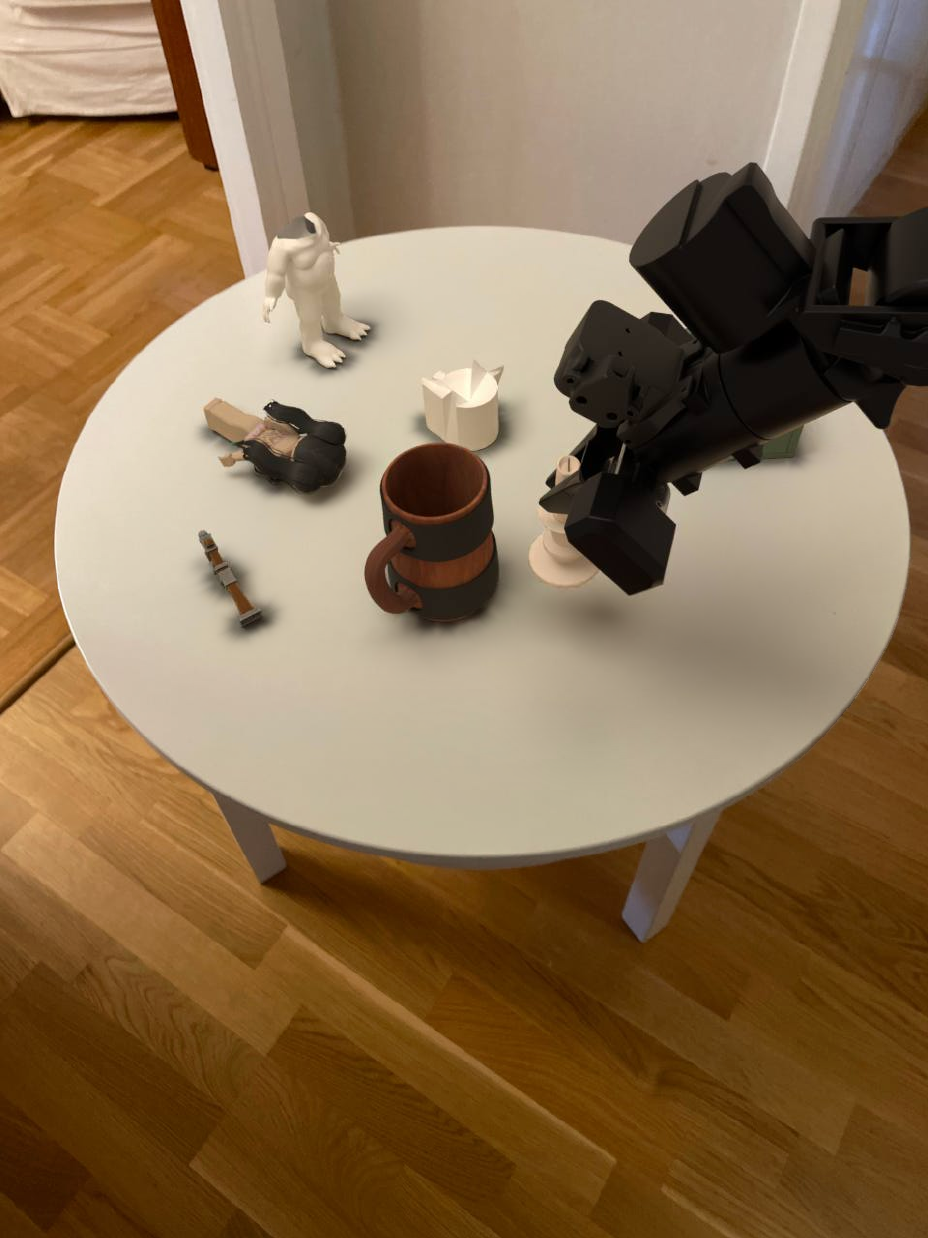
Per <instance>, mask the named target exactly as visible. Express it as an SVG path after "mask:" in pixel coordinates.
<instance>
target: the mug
mask: <svg viewBox="0 0 928 1238" xmlns="http://www.w3.org/2000/svg"><path fill="white" fill-rule="evenodd" d="M491 478H492V477H491V474H490V470H489V467H488V466H487V464H486V463H485V462H484V461H483V460H482V459H481V458H480V457H479V456H478V455H477V454H475V453H474V451H470V450H468V449H466V448H464V447H462V446H459V445H455V444H450V443H446V442H429V443H428V442H427V443H423V444H420V445H416V446H413V447H411V448H409V449H406V450H404V451H403V452H401V453H400V454H399V455H397V456H396V457H394V459H393V460H391V462H390V463H389V465H388V466H387V467H386V469H385V471H384V472H383V474H382V477H381V479H380V483H379V496H380V503H381V511H382V521H383V522H382V523H383V531H384V533H385V536H384V537H383V538H382V539H381V540H379V542H378V543H377V544H376V545H374V547H372V549H371V550H370V552H369V554H368V556H367V558H366V560H365V564H364V569H363V570H364V572H363V575H364V582H365V586H366V589H367V591H368V594H369V596H370V597H371V599H372V600H373V602H374V603H375V604H376V606H378V607H379V608H380V609H381V610H382V611H384V612H385V613H388V614H391V615H400V614H403V613H405V612H407V611H408V612H409V613H412V614H414V615H416V616H417V617H420V618H422V619H424V620H428V621H429V620H430V621H434V622H452V621H456V620H460V619H463V618H466V617H468V616H470V615H472V614H474V613H475V612H476V611H479V610H480V609H482V607H484V606H485V605H486V604H487V603H488V602H489V601H490V600H491V598H492V597H493V595H494V594H495V592H496V589H497V587H498V583H499V580H500V579H499V578H500V577H499V576H500V566H499V565H500V564H499V563H500V562H499V553H498V547H497V546H498V545H497V540H496V536H495V533H494V531H493V528H494V527H493V526H494V524H495V512H494V505H493V495H492V479H491ZM386 568H387V574H388V580H387V575H386ZM388 581H389V582H388Z"/></svg>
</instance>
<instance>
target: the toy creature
mask: <svg viewBox="0 0 928 1238" xmlns="http://www.w3.org/2000/svg"><path fill="white" fill-rule="evenodd" d="M330 239H331V238H330V233H329V231H328V228H327V225H326V223H324V221H323V220H322V219H321V218H320V217H319V216H318V215H317V214H316V213H314V212H311V211H310V212H306V213H304V214H302V215H298V216H297V217H295V218H293V219H292V220H290V221H289V222H288V223H286V224H285V225H284V226H283V227H282V228H281V229H280V231H279V232H278V233H277V235H275V237H274V238H273V240H272V242H271V245H270V249H269V250H268V254H267V261H266V263H267V265H266V278H265V282H264V291H265V298H264V300H263V301H262V302H263V303H262V308H263V309H262V320H263V321H264V322H265V323H268V324H271V320H270V317H269V314H270V312H273V311H274V310H275V308H276V306H277V302H278V300H279V299H280V298H281V296H282V295H283V292H284V291H285V293H286V295H287V297H288V298H289V299H290V300H292V303H293V306H294V309H295V312H296V315H297V317H298V320H299V323H298V327H299V331H300V336H301V345H302V346H301V347H302V348H301V349H302V351H303V352H304V354H305V355H307V356H309V357H312V358H314V359H315V360H317V362H318V363H319V364H320V365H321V366H323V367H325V368H327V369H330V368H336V367H337V365H336V363H343V359H342V358H346V355H345V353H344V352H343V350H341V349H338V348H337V347H336V346H334V344H332V343H330V342H328V341H326V340H324V338H323V331H324V332H325V333H327V334H331V335H332V334H338V335H341V336H343V337H347V338H349V339H351V340H353V341H355V340H359V341H362V338H361V337H362V336H368V333H367V332H366V331H367V330H371V327H370V326H369V324H365V323H364V322H360V321H356V320H354V319H352V318H351V317H349V316H347V315H345V314H344V313H343V312H342V308H341V307H342V305H341V299H342V294H341V291H340V287H339V284H338V281H337V278H336V274H335V265H336V262H335V261H336V260H335V253H334V251H335V252H336V254H338V255H340V254H341V252H340V249H339V248H338V247H337V246H341V242H339V241H336V242H333V241H331V240H330Z"/></svg>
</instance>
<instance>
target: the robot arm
mask: <svg viewBox="0 0 928 1238" xmlns="http://www.w3.org/2000/svg"><path fill="white" fill-rule="evenodd" d="M628 262H629V265H630V266H631V268H633V269H634V270H635V271H636V273H637V274H638V275H639V276H640V277H641V278H642V279H643V280H644V282H645V283H646V284H647V285H648V286H649V287H650V288H651V290H652V291H653V292H654V293H655V294H656V295H657V296H658V298H659V299H660V300H661V301H662V302H663V303H664V304H665V306H666V307H667V308H669V310H670V311H671V312H672V313H673V314H672V313H665V312H658V311H649V312H648V313H646V314H645V315H643V316H641V318H639V317H637V316H635V315H634V314H631V313H629V312H628V311H626V310H624V309H622V308H620V307H619V306H617V305H615V304H613V303H612V302H610V301H607V300H604V299H598V300H594V301H592V302H591V304H590V305H589V307H588V308H587V310H586V312H585V314H584V315H583V317H582V318H581V319H580V321H579V323H578V325H577V326H576V328H575V329H574V330H573V332H572V333H571V335H570V336H569V338H568V340H567V341H566V343H565V346H564V350H563V352H562V355H561V358H560V360H559V363H558V366H557V368H556V369H555V371H554V375H553V384H554V386H555V389H557V390H558V391H559V393H560V394H562V395H563V396H565V397H566V398H568V404H569V408H570V410H571V411H572V412H574V413H576V414H577V415H579V416H581V417H583V418H585V419H586V420H588V421H590V422H593V424H595V425H594V426H593V427H592V428H591V430H590V431H589V432H588V433H587V434H586V435H585V436H584V437H583V439H582V440H581V441H580V442H579V443H578V444H577V445H576V446H575V447H574V448H573V449H572V450H571V452H570V453H569V454H568V455H571V456H574V457H576V458H577V459H578V460H579V462H580V467H579V470H577V471H576V472H574V473H573V474H572V475H570V476H569V477H567V478H566V479H565V480H563V481H562V482H560V483H559V484H557V485H556V486H555V482H556V471H557V467H556V468H555V469H553V471H552V472H551V473H550V474H549V476H548V477H547V478H546V480H545V485H546V487H548V488H549V490H548V491H546V493H544V494H543V495H542V496H541V497H540V498H539V500H538V506H539V505H540V506H541V507H542V508H543V509H545V510H546V511H547V512H549V513H557V514H567V515H568V516H567V519H566V523H565V526H564V531H565V534H566V537H567V540H568V542H569V543H570V544H571V545H572V546H573V547H574V548H575V549H577V550H578V551H579V552H580V553H581V554H582V555H583V556H584V557H586V558H587V559H588V560H589V561H590V562H591V563H592V564H593V565H595V566H596V567H597V568H598V569H599V570H600V571H599V572H601V573H602V574H603V575H604V576H606V577H607V578H608V579H609V580H610V581H611V582H613V584H614V585H616V586H617V587H618V588H619V589H621V591H622V592H624V594H626V595H627V596H628V597H631V596H635V595H639V594H642V593H645V592H646V591H647V592H648V591H650V590H652V589H655V588H657V587H660V586H663V585H664V582H665V578H666V574H667V568H668V564H669V561H670V556H671V552H672V548H673V543H674V538H675V533H676V528H677V523H675V521H673V520H672V519H671V518H670V517H669V516H668V515H667V512H668V508H669V504H670V500H671V496H672V495H671V494H672V493H671V489H670V486H669V484H671V485H672V486H673V487H674V488H675V489H676V490H677V491H678V492H679V493H680V494H681V495H682V496H683V497H684V498H685V497H687V496H689V495H691V494H694V493H696V492H698V491H699V490H700V486H701V482H702V478H703V477H702V476H703V473H704V472H706V471H708V470H710V469H712V468H715V466H718V465H720V464H722V463H725V462H727V461H730V460H729V459H731V458H734V459H735V460H734V461H736V462H737V463H738V464H739V465H740V466H741V467H742V468H743V469H744V470H748V469H749V468H752V467H754V466H756V465H758V464H760V463H761V462H762V459H761V458H762V452H763V446H764V443H766V442H768V441H770V440H772V439H774V438H777V437H779V436H781V435H783V434H785V433H787V432H790V431H792V430H794V429H796V428H798V427H800V426H803V425H804V426H805V425H807V424H809V423H811V422H814V421H815V420H818V419H820V418H822V417H825V416H826V415H829V414H830V413H833V412H834V411H837V410H839V409H841V408H844V407H846V406H848V405H850V404H852V403H854V404H855V405H856V406H857V407H858V408H859V410H860V411H861V412H862V413H863V415H865V417H866V418H867V419H868V420H869V421H870V423H871V424H872V425H873V427H874V428H875V429H877V430H885V429H887V428H889V427H890V425H891V422H892V417H893V414H894V411H895V409H896V406H897V403H898V400H899V398H900V396H901V395H902V393H903V392H904V391H905V389H906V388H907V387H916V388H924V387H925V388H927V387H928V205H926V206H923V207H920V208H917V209H916V210H913V211H911V212H909V213H906V214H904V215H889V216H888V215H887V216H884V215H882V216H836V217H835V216H828V217H827V216H826V217H822V216H821V217H818V218H815V219H814V220H813V222H812V224H811V228H810V233H809V237H808V235H807V234H806V233H805V232H804V230H803V229H802V228H801V227H800V225H799V224H798V222H797V221H796V220H795V219H794V218H793V216H792V215H791V214H790V212H789V211H788V209H786V207H785V206H784V204H783V203H782V202H781V201H780V198H779V197H778V196H777V193H776V191H775V188H774V186H773V183H772V182H771V180H770V178H769V177H768V176H767V175H766V173H765V171H764V170H763V169H762V168H761V167H760V165H759V164H758V163H757V162H752V161H751V162H748V163H747V164H746V165H744V166H743V167H741V168H739V169H738V170H737V171H736V172H734V173H733V174H730V173H729V172H727V171H724V172H722V171H721V172H718V173H715V174H712V175H709V176H707V177H705V178H704V179H702V180H701V181H700V180H699V179H698V178H696V179H694V180H693V181H691V182H690V183H689V184H688V185H686V186H685V187H683V188H682V189H681V190H680V191H679V192H677V193H676V194H675V195H674V196H672V198H670V199H669V200H668V201H667V202H666V203H665V204H664V205H662V206H661V208H660V209H659V210H658V211H657V212H656V213H655V214H654V215H653V217H652V218H651V219H650V220H649V221H648V223H647V224H646V225H645V226H644V228H643V229H642V230H641V232H640V234H639V235H638V237H636V240H635V241H634V243H633V245H632V247H631V249H630V252H629V256H628ZM854 269H856V270H860V271H863V272H867V277H866V287H865V297H864V305H852V304H851V305H850V299H851V290H852V283H853V282H852V281H853V274H854ZM674 315H675V316H674ZM679 321H680V322H681V323H680V322H679ZM685 328H687V329H688V330H689V331H690V332H691V333H692V334H693V335H694V337H695V339H694V338H693V337H692V336H691V335H690V334H689V333H688V332H687V331H686V329H685Z"/></svg>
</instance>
